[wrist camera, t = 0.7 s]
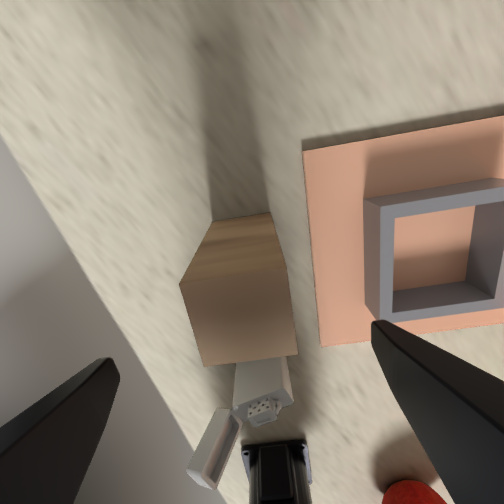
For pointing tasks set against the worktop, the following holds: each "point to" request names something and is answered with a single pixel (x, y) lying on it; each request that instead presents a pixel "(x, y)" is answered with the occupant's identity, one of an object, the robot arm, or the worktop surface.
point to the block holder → (408, 231)
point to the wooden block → (240, 293)
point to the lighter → (241, 415)
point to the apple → (411, 494)
